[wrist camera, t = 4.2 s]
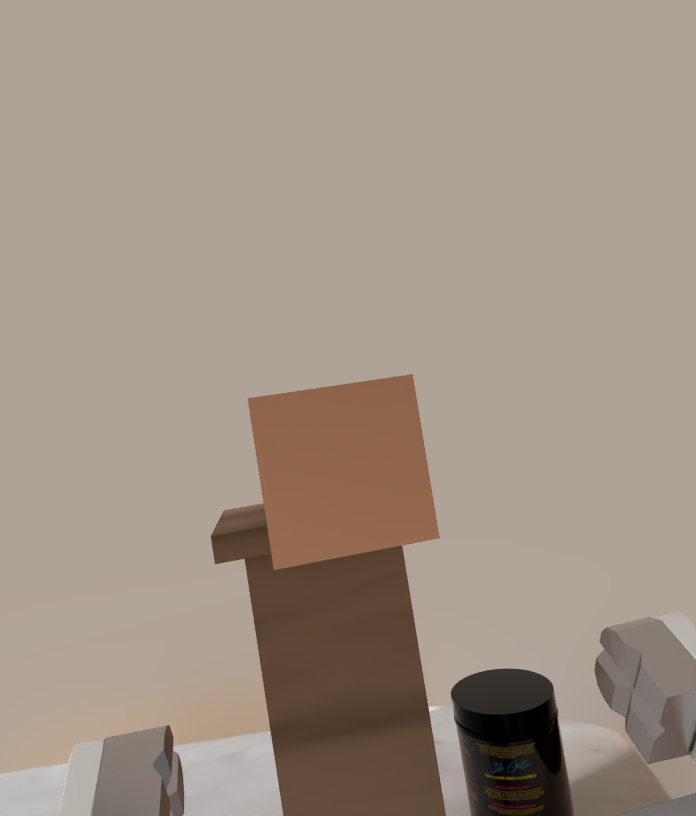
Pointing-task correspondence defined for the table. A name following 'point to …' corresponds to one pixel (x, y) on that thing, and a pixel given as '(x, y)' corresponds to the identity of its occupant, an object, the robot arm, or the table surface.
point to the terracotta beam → (342, 470)
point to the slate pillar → (669, 808)
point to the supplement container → (511, 744)
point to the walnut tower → (338, 677)
